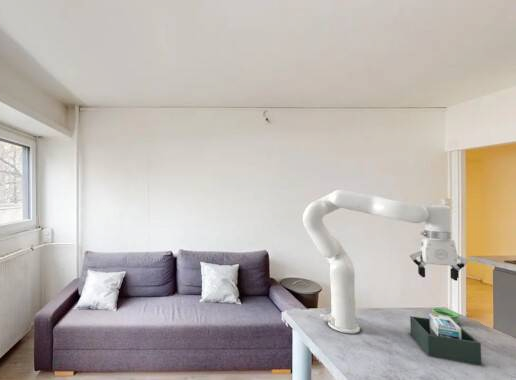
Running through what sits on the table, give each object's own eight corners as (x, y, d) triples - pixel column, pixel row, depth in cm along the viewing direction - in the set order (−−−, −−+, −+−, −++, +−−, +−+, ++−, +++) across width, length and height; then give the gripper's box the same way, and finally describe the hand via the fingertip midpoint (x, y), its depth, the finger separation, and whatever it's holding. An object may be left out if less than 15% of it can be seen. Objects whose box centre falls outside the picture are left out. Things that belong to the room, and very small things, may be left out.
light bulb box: (463, 357, 97) (462, 328, 97) (438, 352, 101) (437, 324, 101) (451, 342, 107) (450, 316, 107) (429, 338, 110) (428, 312, 110)
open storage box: (428, 355, 100) (427, 335, 100) (410, 333, 115) (410, 316, 115) (481, 365, 94) (480, 343, 94) (455, 340, 109) (454, 322, 109)
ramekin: (441, 325, 122) (440, 315, 122) (427, 316, 131) (427, 307, 131) (464, 326, 120) (464, 317, 120) (449, 317, 129) (448, 308, 129)
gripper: (413, 235, 106) (414, 278, 106) (472, 238, 99) (473, 284, 99) (406, 232, 113) (406, 272, 113) (461, 235, 106) (461, 277, 106)
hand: (437, 277), depth 106 cm, fingers open, 9 cm apart
